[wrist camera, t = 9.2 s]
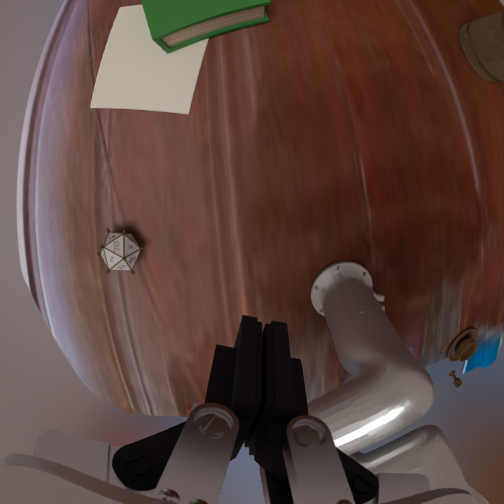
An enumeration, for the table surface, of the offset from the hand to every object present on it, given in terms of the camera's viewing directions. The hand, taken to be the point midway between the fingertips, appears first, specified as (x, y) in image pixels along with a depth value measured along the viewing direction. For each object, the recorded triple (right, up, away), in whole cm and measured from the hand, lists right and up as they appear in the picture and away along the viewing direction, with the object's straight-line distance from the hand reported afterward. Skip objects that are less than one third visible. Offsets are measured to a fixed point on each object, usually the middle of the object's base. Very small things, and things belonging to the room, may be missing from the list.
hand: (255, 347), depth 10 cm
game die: (-24, +5, +39) cm, 46 cm away
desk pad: (-18, +38, +25) cm, 49 cm away
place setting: (+60, -26, +50) cm, 83 cm away
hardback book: (-6, +37, +20) cm, 43 cm away
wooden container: (+50, +48, +19) cm, 72 cm away
